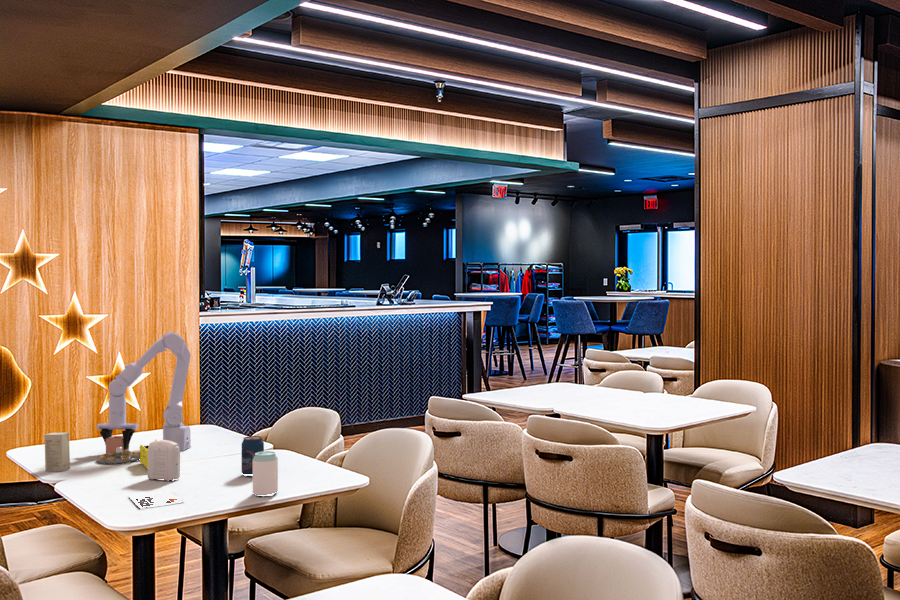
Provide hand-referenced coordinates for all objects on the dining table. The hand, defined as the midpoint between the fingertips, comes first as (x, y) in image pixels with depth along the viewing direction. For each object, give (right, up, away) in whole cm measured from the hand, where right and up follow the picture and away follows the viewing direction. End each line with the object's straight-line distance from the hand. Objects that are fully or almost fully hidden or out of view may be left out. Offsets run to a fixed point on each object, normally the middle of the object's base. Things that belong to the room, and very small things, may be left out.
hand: (117, 449), depth 274 cm
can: (+69, -2, -59) cm, 90 cm away
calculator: (+39, -2, -65) cm, 76 cm away
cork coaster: (+9, -2, +1) cm, 9 cm away
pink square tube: (0, -2, 0) cm, 2 cm away
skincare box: (-8, -2, -27) cm, 28 cm away
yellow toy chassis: (+22, -2, -22) cm, 31 cm away
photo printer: (+32, -2, -40) cm, 52 cm away
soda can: (+59, -2, -34) cm, 68 cm away
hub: (+6, -2, -11) cm, 13 cm away
